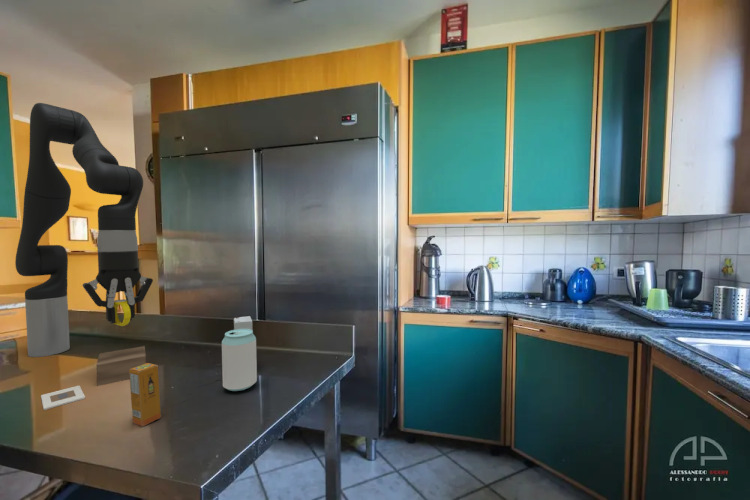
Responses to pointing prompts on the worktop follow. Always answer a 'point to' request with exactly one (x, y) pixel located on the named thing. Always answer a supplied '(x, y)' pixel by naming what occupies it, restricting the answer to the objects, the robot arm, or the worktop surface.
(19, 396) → the worktop surface
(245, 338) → the can
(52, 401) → the card
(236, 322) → the skincare box
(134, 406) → the supplement box
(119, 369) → the walnut block
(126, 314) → the watch
